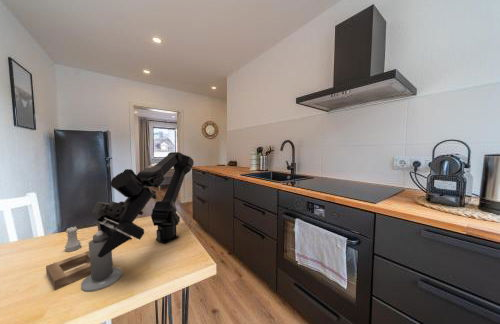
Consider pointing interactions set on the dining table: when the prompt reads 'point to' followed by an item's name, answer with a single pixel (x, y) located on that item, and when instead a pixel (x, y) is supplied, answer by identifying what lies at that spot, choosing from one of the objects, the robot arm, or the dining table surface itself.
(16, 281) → the dining table surface
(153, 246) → the dining table surface
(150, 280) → the dining table surface
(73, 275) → the mill stand
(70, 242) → the rook chess piece
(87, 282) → the slate coaster
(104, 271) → the pepper mill
